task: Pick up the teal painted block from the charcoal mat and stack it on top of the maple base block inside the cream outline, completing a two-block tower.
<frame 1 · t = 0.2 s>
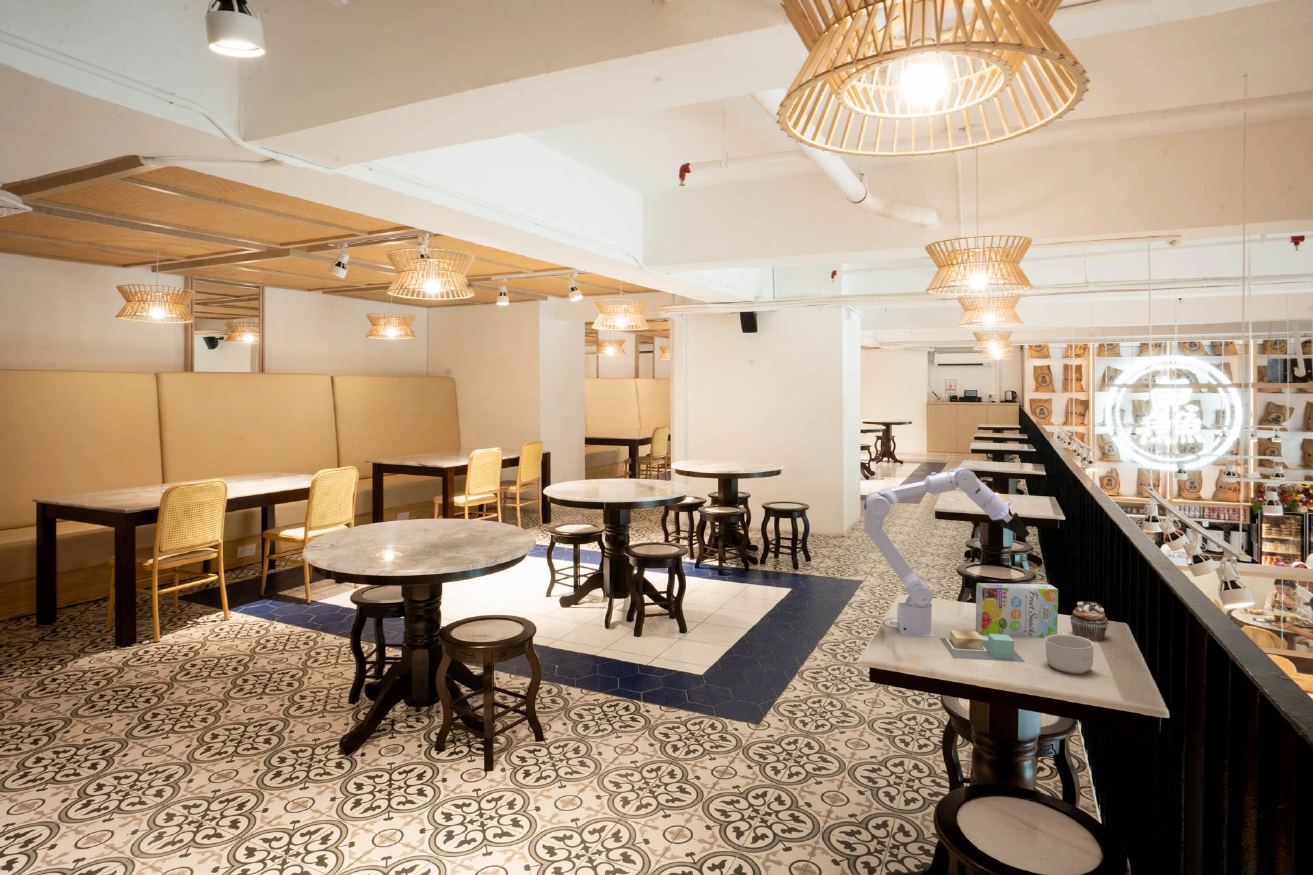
hand: (1023, 533, 202), 31 cm above the table, tool tilted 45°, fingers open, 7 cm apart
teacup: (1068, 669, 183), on the table
cupcake: (1088, 636, 207), on the table
blueprint mat: (980, 651, 195), on the table
snack box: (1015, 636, 208), on the table
teal block: (1000, 655, 190), point 1 cm above the table, touching blueprint mat
maple base: (966, 644, 198), point 1 cm above the table, touching blueprint mat
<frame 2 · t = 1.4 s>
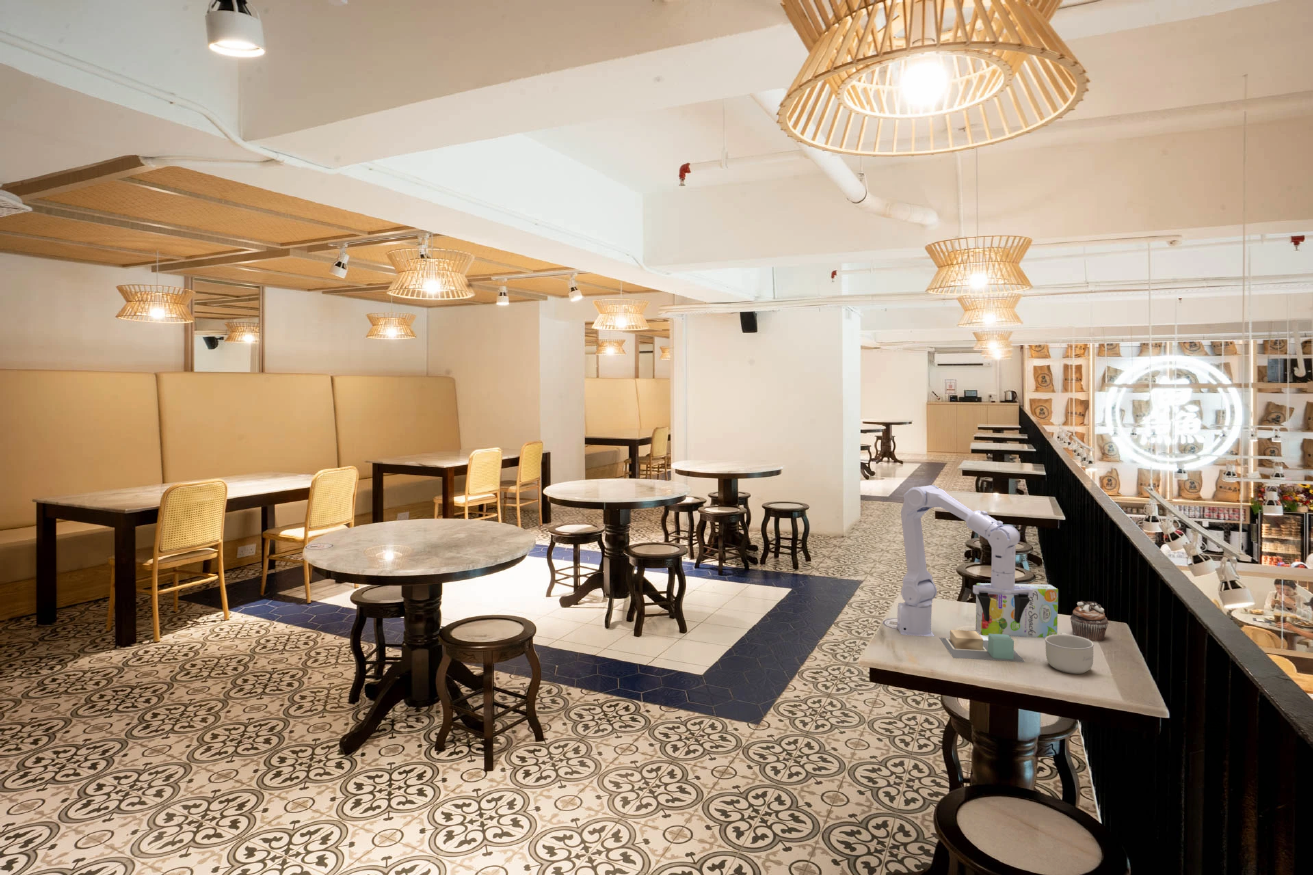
hand: (1001, 621, 189), 10 cm above the table, tool pointing down, fingers open, 7 cm apart
nothing on the table moved.
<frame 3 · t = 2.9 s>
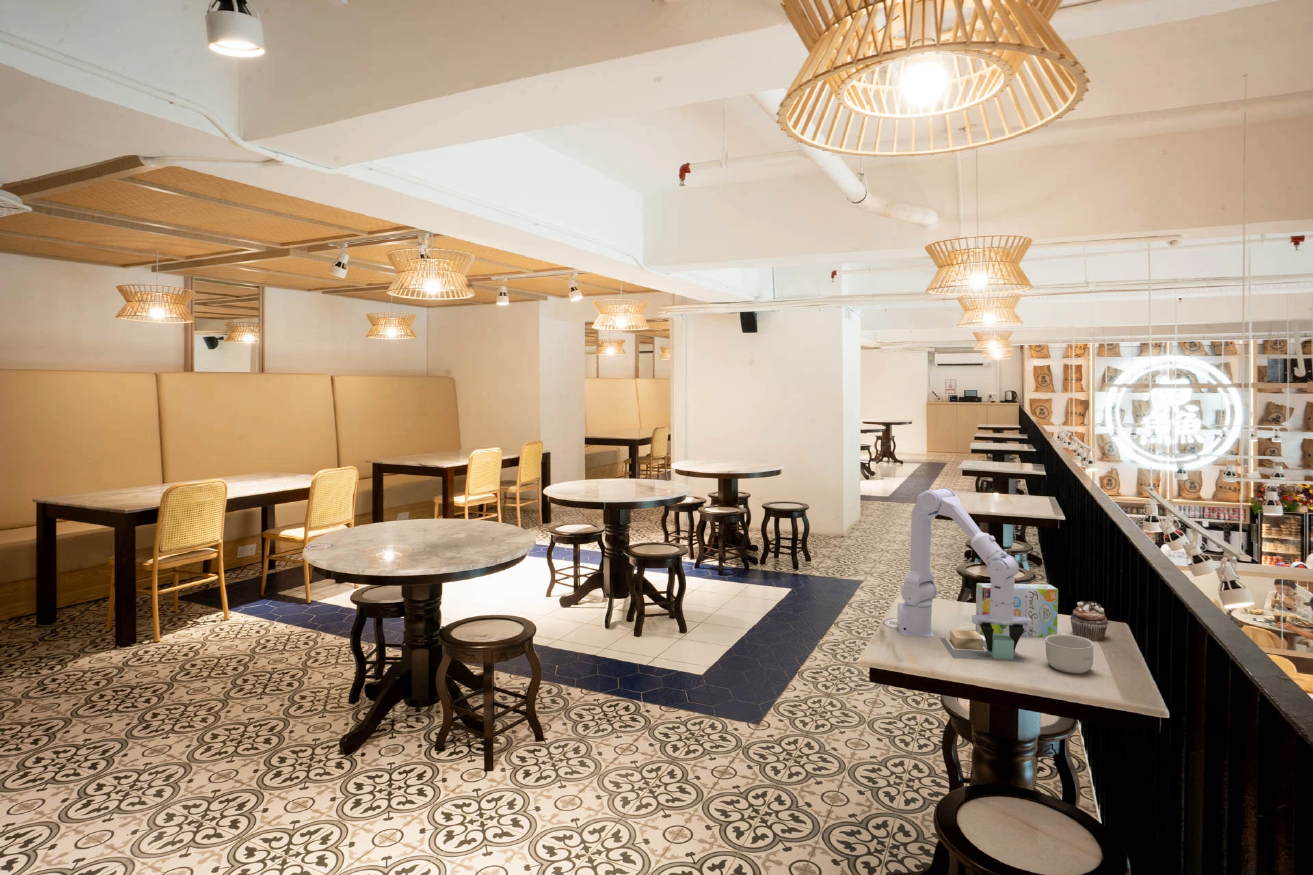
hand: (1000, 650, 190), 2 cm above the table, tool pointing down, fingers closed on teal block, 5 cm apart
teal block: (1000, 655, 190), point 1 cm above the table, touching blueprint mat, gripper
everything else where it was.
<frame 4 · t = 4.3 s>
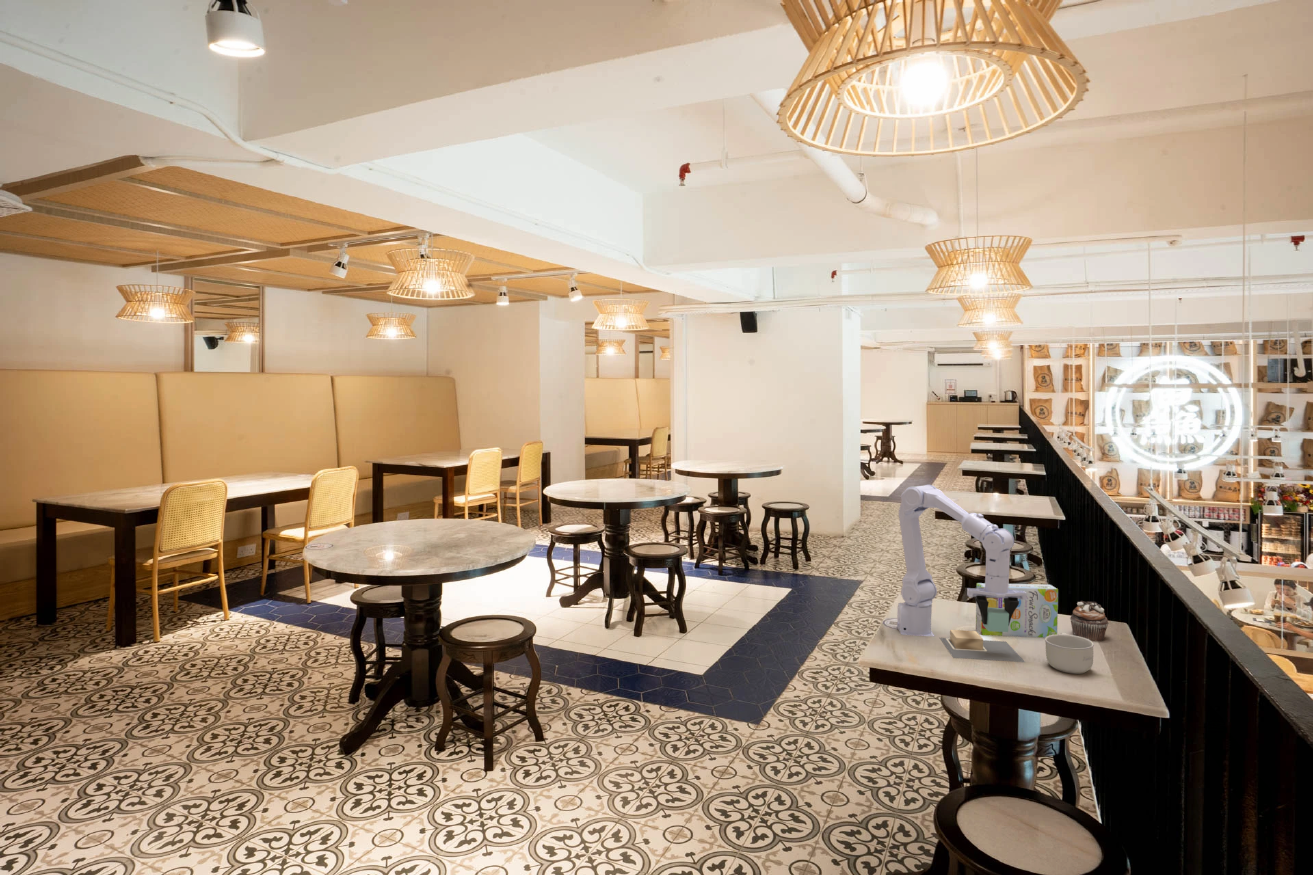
hand: (995, 623, 191), 9 cm above the table, tool pointing down, fingers closed on teal block, 5 cm apart
teal block: (995, 628, 191), point 8 cm above the table, touching gripper
everything else where it was.
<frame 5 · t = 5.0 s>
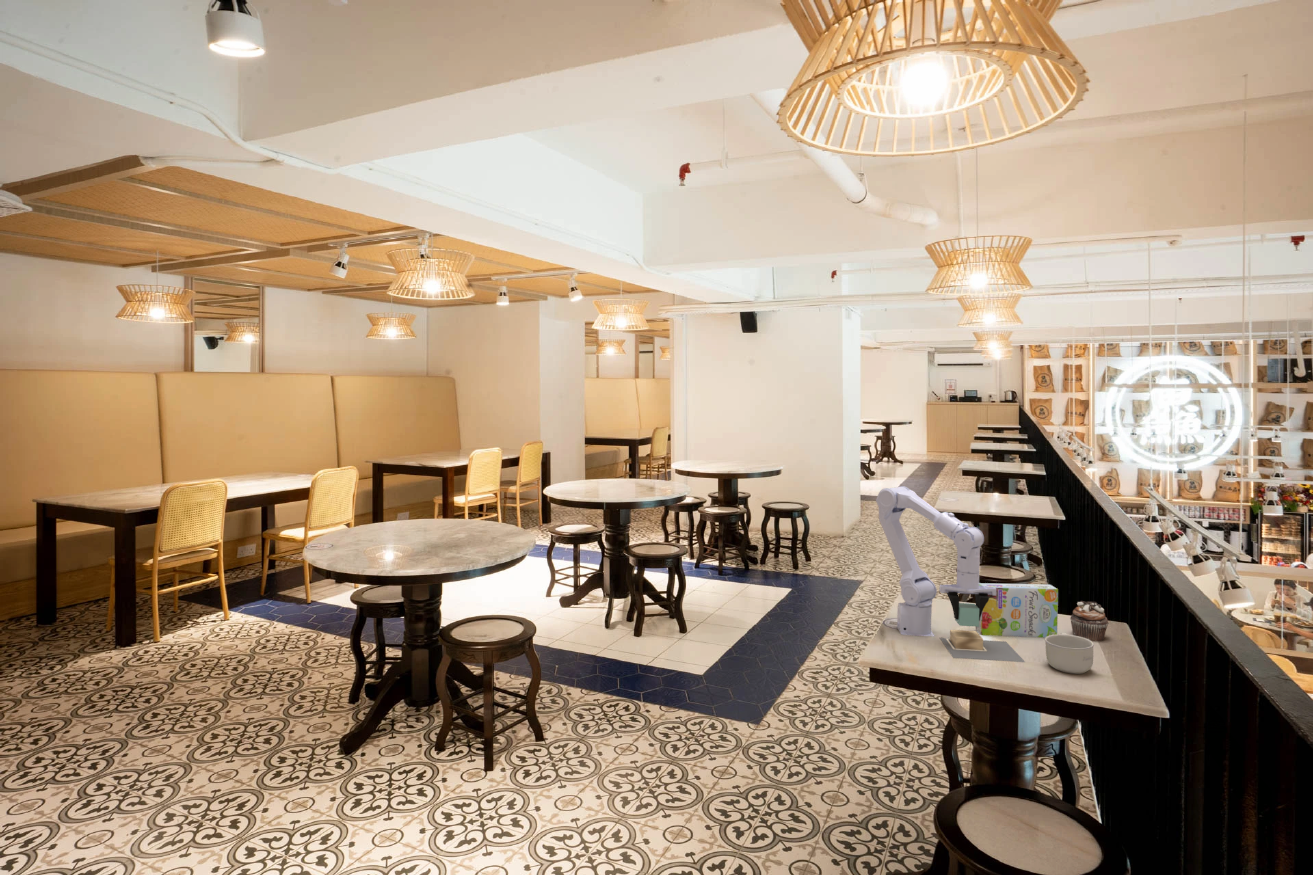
hand: (966, 619, 198), 8 cm above the table, tool pointing down, fingers closed on teal block, 5 cm apart
teal block: (966, 623, 198), point 7 cm above the table, touching gripper
everything else where it was.
when the fingers open (6 cm above the table, at t = 5.7 s): teal block drops 1 cm, resting on maple base.
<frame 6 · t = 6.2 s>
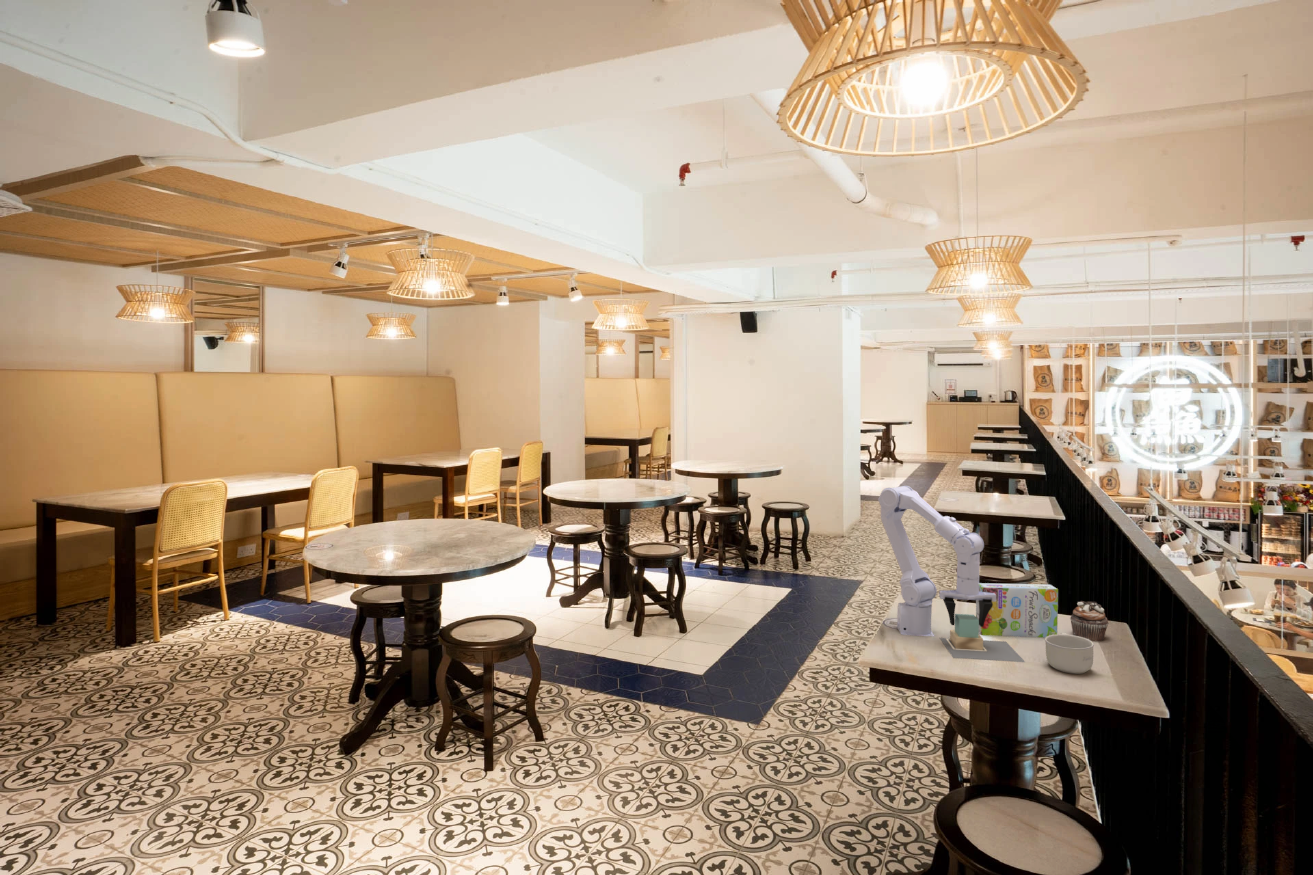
hand: (966, 624, 198), 6 cm above the table, tool pointing down, fingers open, 7 cm apart
teal block: (966, 634, 198), point 4 cm above the table, touching maple base
maple base: (966, 644, 198), point 1 cm above the table, touching blueprint mat, teal block
everything else where it was.
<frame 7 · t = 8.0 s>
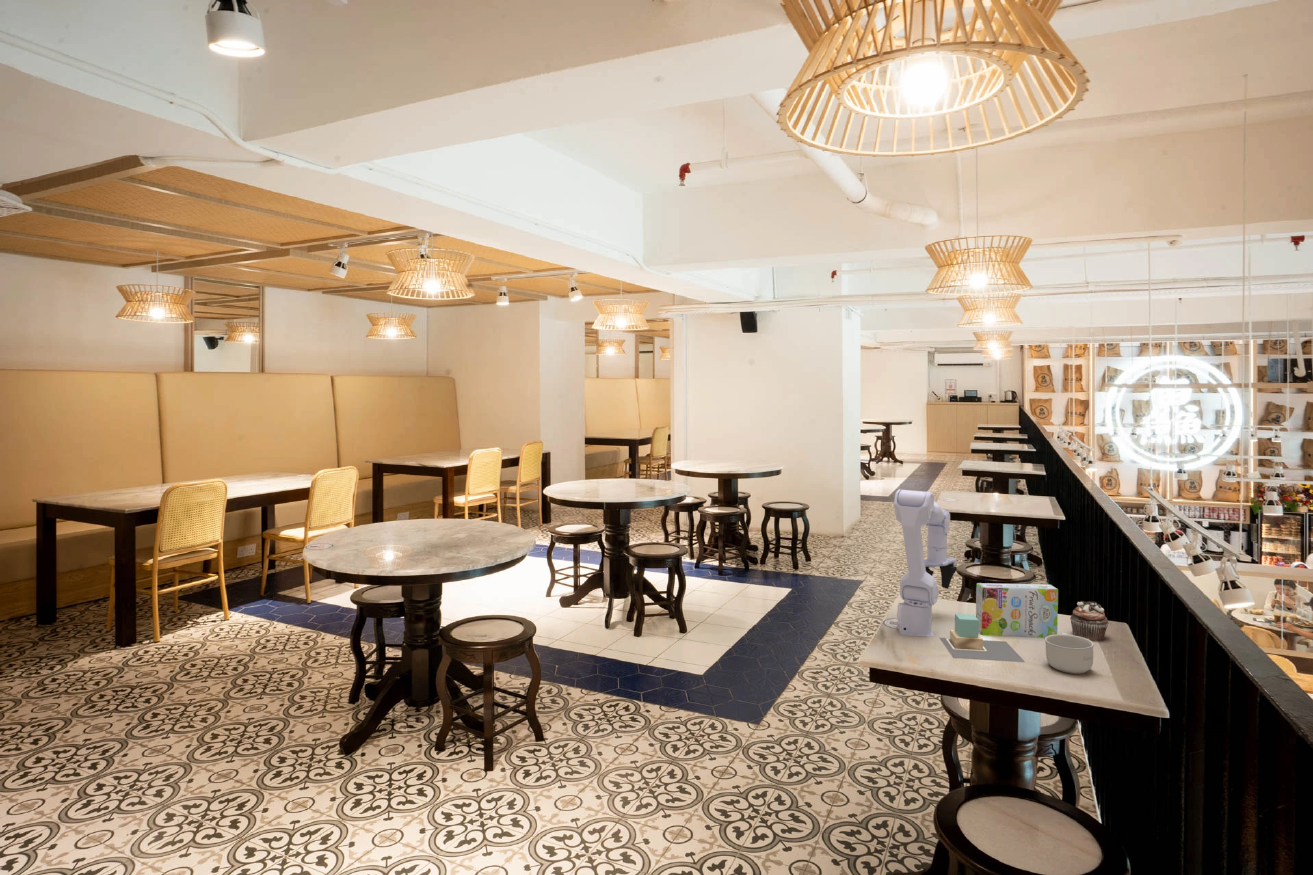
hand: (936, 589, 223), 9 cm above the table, tool pointing down, fingers open, 7 cm apart
nothing on the table moved.
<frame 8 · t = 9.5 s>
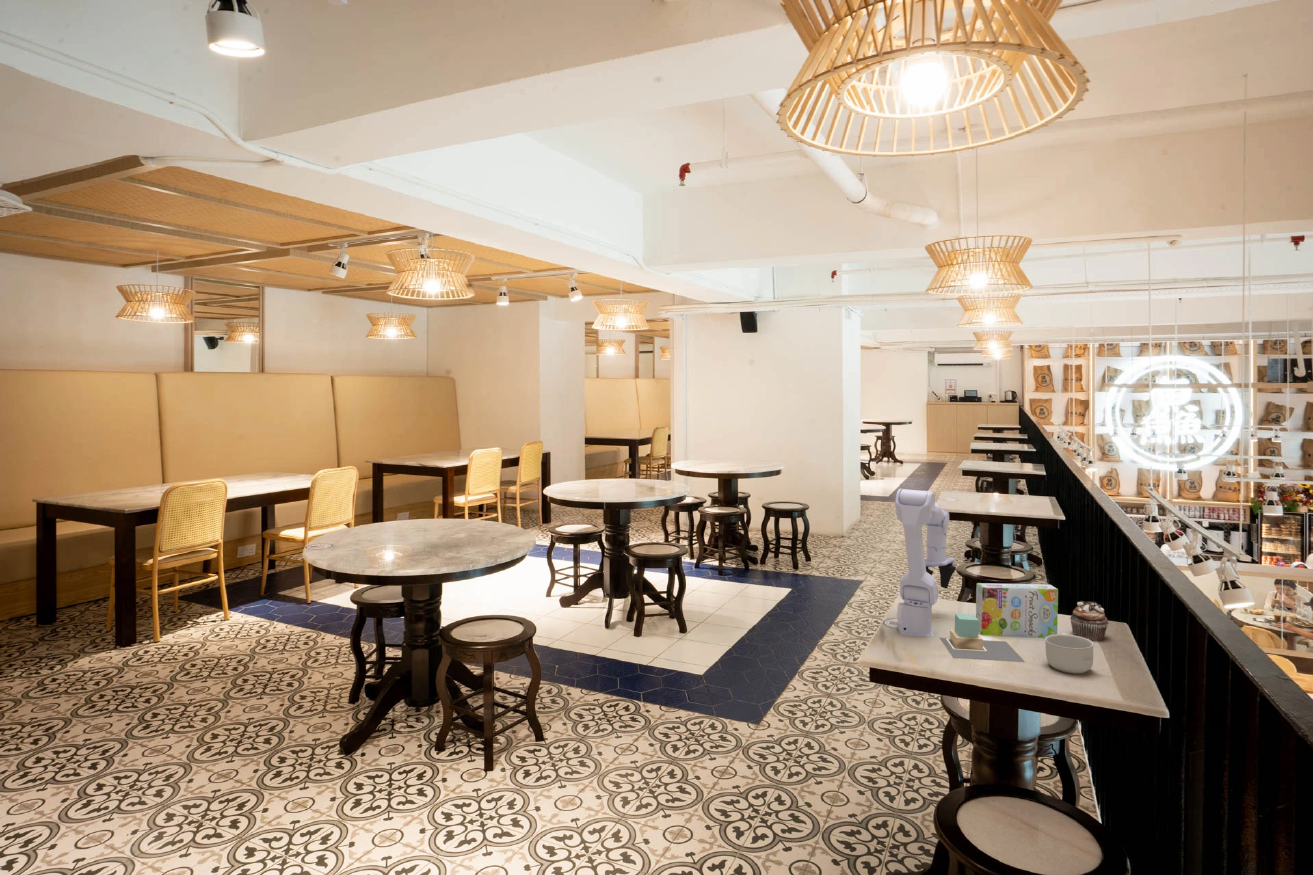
hand: (935, 588, 224), 9 cm above the table, tool pointing down, fingers open, 7 cm apart
nothing on the table moved.
at the end: teal block 0.0 cm from the maple base (horizontally); teal block point 3.6 cm above the table; teal block tilted 0° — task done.
